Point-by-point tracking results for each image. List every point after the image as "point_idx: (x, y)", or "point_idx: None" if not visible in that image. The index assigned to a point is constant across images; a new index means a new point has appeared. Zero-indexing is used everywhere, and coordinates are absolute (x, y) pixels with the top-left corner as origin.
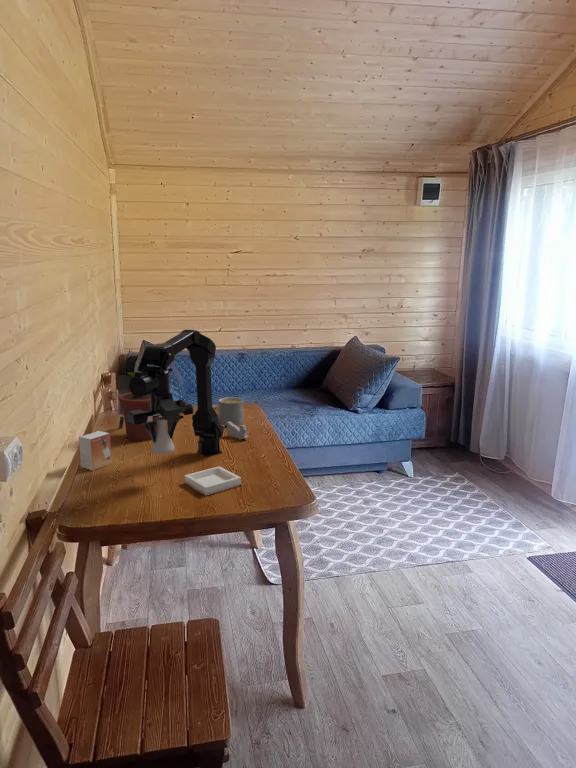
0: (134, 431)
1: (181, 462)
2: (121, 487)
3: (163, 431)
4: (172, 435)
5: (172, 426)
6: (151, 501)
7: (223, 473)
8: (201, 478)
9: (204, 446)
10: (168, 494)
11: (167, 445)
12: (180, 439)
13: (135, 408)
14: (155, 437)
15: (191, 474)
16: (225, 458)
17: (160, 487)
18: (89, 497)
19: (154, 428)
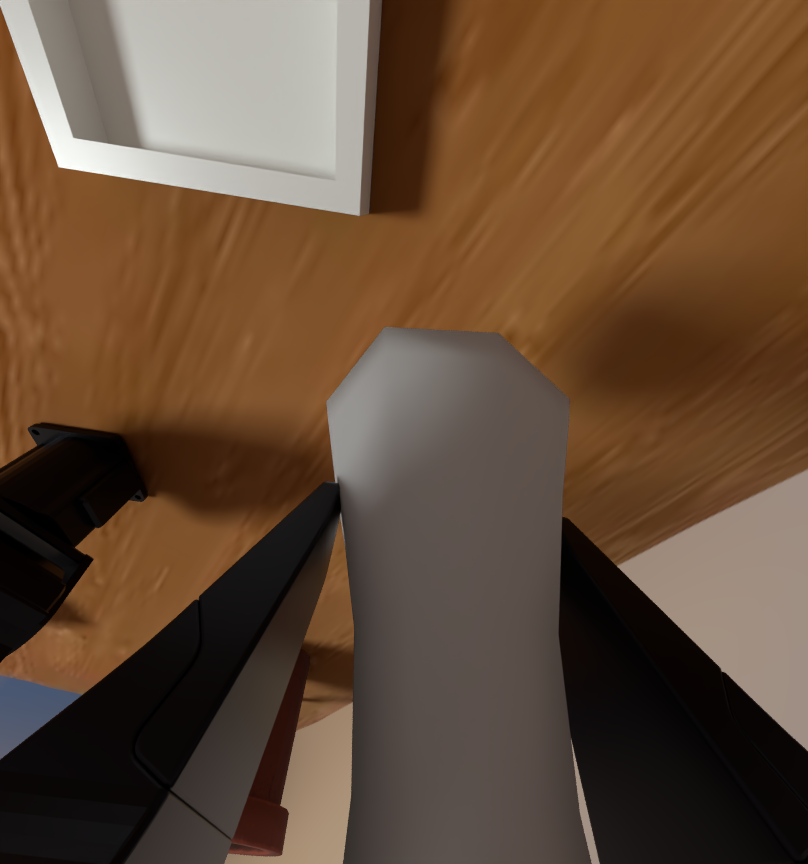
0: (290, 682)
1: (249, 461)
2: (610, 423)
3: (488, 621)
4: (302, 508)
5: (228, 676)
6: (735, 92)
7: (60, 32)
8: (256, 151)
9: (89, 481)
10: (568, 115)
11: (456, 392)
12: (172, 596)
13: (252, 790)
14: (585, 570)
15: (311, 188)
16: (28, 360)
17: (507, 278)
18: (777, 430)
19: (756, 803)
